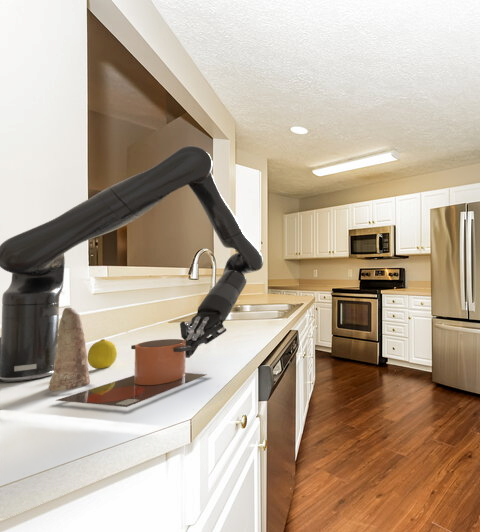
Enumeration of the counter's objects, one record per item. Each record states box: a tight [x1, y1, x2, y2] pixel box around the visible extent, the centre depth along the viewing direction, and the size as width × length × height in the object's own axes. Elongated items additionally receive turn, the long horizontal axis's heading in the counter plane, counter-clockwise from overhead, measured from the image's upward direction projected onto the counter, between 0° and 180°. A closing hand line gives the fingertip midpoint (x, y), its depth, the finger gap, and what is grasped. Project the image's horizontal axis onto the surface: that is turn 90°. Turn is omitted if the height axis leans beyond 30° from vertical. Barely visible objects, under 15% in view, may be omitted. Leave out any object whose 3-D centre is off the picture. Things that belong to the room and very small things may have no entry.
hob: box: [55, 372, 208, 408], centre depth 72 cm, size 16×20×1 cm
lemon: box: [87, 338, 118, 370], centre depth 86 cm, size 6×6×8 cm
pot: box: [130, 338, 191, 385], centre depth 77 cm, size 13×9×8 cm
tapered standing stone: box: [48, 307, 91, 392], centre depth 71 cm, size 6×18×6 cm
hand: (184, 356), depth 84 cm, fingers closed
